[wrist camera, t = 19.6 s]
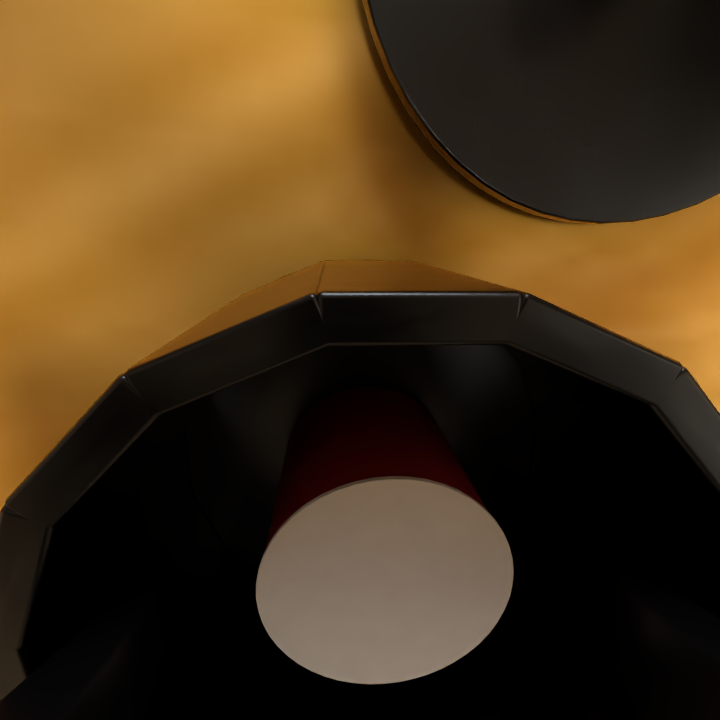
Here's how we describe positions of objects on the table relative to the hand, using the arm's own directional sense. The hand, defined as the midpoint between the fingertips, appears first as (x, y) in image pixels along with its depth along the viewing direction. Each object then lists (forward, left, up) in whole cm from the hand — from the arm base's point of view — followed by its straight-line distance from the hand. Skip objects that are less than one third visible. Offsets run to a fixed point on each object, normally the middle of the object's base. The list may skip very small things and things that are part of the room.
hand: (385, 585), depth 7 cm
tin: (0, 0, -5) cm, 5 cm away
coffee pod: (0, 0, -4) cm, 4 cm away
